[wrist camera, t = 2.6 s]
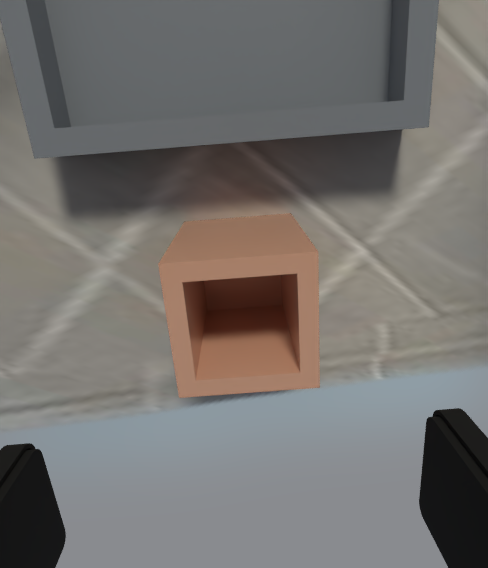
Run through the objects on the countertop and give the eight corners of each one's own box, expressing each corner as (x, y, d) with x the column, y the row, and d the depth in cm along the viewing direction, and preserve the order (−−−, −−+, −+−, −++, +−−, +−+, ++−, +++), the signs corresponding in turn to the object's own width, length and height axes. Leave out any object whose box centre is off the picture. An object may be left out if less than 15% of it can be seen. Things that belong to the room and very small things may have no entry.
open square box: (290, 213, 22) (318, 251, 15) (294, 310, 24) (319, 387, 17) (184, 221, 22) (158, 263, 15) (196, 318, 25) (179, 397, 17)
